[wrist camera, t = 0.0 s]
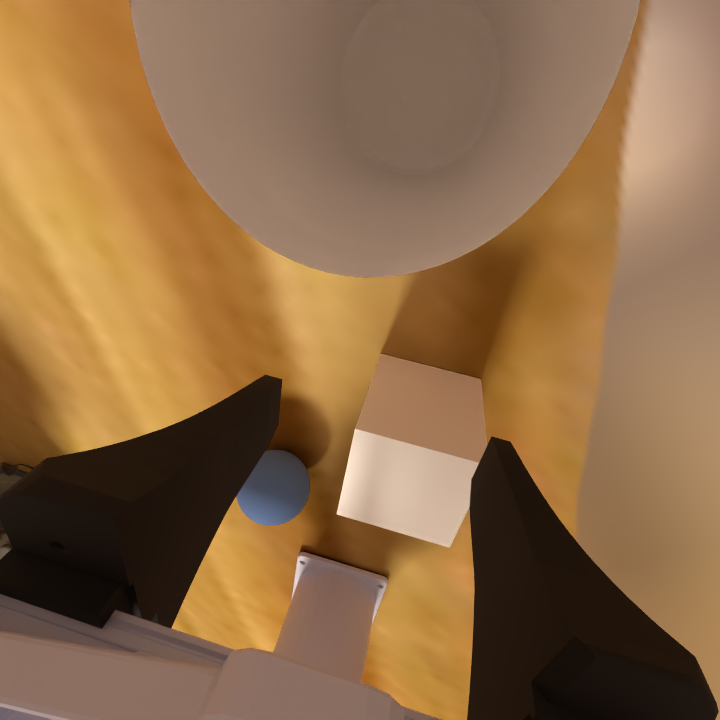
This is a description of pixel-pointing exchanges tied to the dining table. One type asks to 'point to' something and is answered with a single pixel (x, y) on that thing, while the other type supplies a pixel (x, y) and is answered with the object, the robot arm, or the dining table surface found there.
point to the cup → (379, 115)
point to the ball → (275, 489)
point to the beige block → (415, 450)
